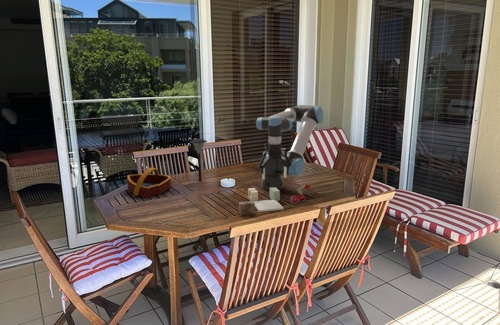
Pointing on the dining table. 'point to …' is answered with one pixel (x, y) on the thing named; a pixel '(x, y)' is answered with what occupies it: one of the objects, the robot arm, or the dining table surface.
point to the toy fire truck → (300, 197)
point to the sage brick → (274, 194)
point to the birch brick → (253, 194)
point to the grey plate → (268, 205)
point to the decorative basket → (148, 183)
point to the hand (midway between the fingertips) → (274, 178)
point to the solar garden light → (198, 146)
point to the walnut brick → (246, 207)
